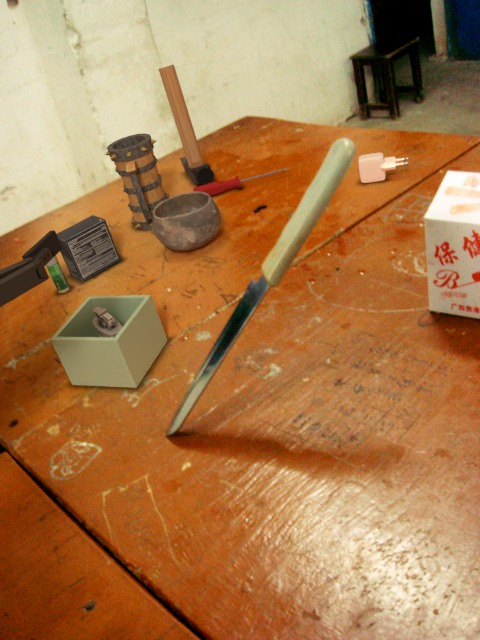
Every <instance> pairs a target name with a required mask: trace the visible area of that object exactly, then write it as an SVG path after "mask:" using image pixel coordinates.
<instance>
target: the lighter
mask: <svg viewBox="0 0 480 640" xmlns="http://www.w3.org/2000/svg"><path fill="white" fill-rule="evenodd" d="M93 311H94V313H95V315H96V317H95V318H94V319H93V320H92V322H93V325H94V326H95V328H96V330H97V331H98V333H99V337H114V338H115V336H116V335H117V334H118V332H119V331H120V330H121V328H122V326H121V324H120V323H119V322H118V321H117V320H116V319H115V318H114V317H112V316H111V315H110V314H109V313H108V312H107V310H106V309H105V308H103V309H101V308H100V307H97V308H95V309H93Z"/></svg>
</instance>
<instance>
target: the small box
mask: <svg viewBox="0 0 480 640" xmlns="http://www.w3.org/2000/svg"><path fill="white" fill-rule="evenodd" d="M107 223H108V222H107V220H106V219H105V218H103V217H99V216H97V215H94V214H92V215H90V216H88V217H85V218H84V219H82V220H80V221H78V222H77V223H74V224H73V225H72V224H71V226H68V227H66V228H65V229H63V230H61V231H59V232H56V234H57V237H58V239H59V241H60V244H61V246H62V248H63V249H62V250H61V251H60V252H59V253H60V254H61V257H62V259H63V261H64V263H65V265H66V268H67V270H68V272H69V274H70V277H72V278H74V279H76V280H78V281H79V282H81V283H84V282H86V281H88V280H90V279H92V278H94V277H95V276H97V275H98V274H100V273H102V272H104V271H106V270H107V269H109V268H111V267H112V266H115V265H116V264H118V263H120V262H121V261H122V256H120V254H119V251H118V249H117V246H116V242H115V241H114V238H113V236H112V233H111V231H110V228H109V226H108V224H107Z"/></svg>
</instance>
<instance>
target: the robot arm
mask: <svg viewBox="0 0 480 640" xmlns="http://www.w3.org/2000/svg"><path fill="white" fill-rule="evenodd" d="M62 249H63V248H62V246H61V244H60V241H59V239H58V237H57V232H56V230H49V231H48V232H47V233H46V234H45V235H43V236H42V237H41V238H40V239H39V240H38V241H36V243H34V245H33V246H31V248H29V249H28V250H27V251H26V252H24V254H23V255H21V258H22V260H19V261H17V262H15V263H12V264H10V265H8V266H6V267H4V268H1V269H0V308H2V307H3V306H5V305H6V304H8V303H10V302H12V301H13V300H16V299H18V298H19V297H20V296H22V295H24V294H26V293H27V292H29V291H31V290H33V289H34V288H35V287H38V286H39V285H41V284H43V283H45V282H46V281H48V280H49V279H50V276H49V274H48V272H47V269H46V264H47V263H49V261H51V260H52V258H53V257H54V256H55V255H56V256H57V255H58V254H59V253H61V252H60V251H61V250H62Z"/></svg>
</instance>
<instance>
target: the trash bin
mask: <svg viewBox="0 0 480 640" xmlns="http://www.w3.org/2000/svg"><path fill="white" fill-rule="evenodd" d="M97 307H100V308H101V309H103V308H105V309H106V310H107V312H108V313H109V314H110V315H111V316H112V317H114V318H115V319H116V320H117V321H118V322H119V323H120V324H121V326H122V328H121V330H120V331H119V332H118V334H117V335H116V336H115V338H114V337H99V333H98V331H97V330H96V328H95V326H94V325H93V322H92V320H93V319H94V318H95V317H96V315H95V313H94V311H93V309H95V308H97ZM49 339H50V342H51V345H52V346H53V348H54V350H55V352H56V354H57V356H58V359H59V360H60V362H61V365H62V367H63V369H64V371H65V373H66V375H67V377H68V379H69V381H70V383H71V385H72V386H84V387H85V386H87V387H107V388H108V387H111V388H129V389H131V388H133V389H137V387H138V386H139V385H140V383H141V382H142V380H143V379H144V377H145V376H146V375H147V373H148V371H149V370H150V369H151V367H152V365H153V364H154V362H155V360H156V359H157V357H158V356H159V354H160V353H161V351H162V350H163V349H164V347H165V345H166V344H167V343H168V341H169V340H168V337H167V335H166V332H165V329H164V326H163V324H162V321H161V317H160V314H159V313H158V310H157V307H156V304H155V301H154V299H153V296H152V294H124V295H121V294H119V295H116V294H115V295H89V296H87V298H86V299H85V300H83V302H82V303H81V304H80V305H79V307H77V309H76V310H75V311H74V312H73V313H72V315H70V317H68V319H67V320H66V321H65V322H64V323H63V325H62V326H61V327H60V328H59V329H58V330H57V331H56V332H55V334H53V336H52V337H51V338H49Z"/></svg>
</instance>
